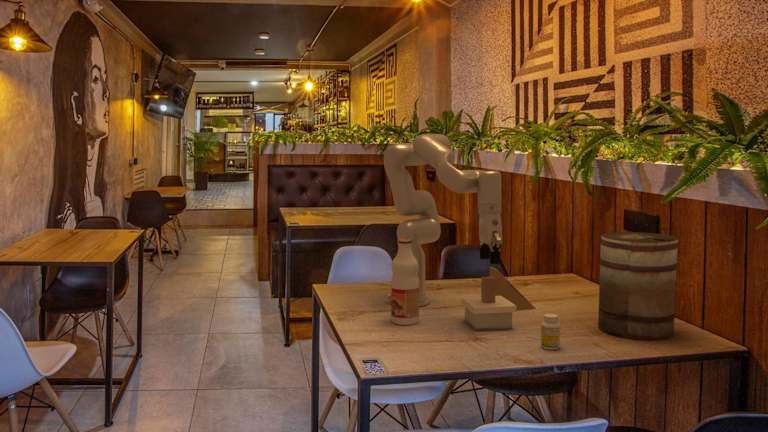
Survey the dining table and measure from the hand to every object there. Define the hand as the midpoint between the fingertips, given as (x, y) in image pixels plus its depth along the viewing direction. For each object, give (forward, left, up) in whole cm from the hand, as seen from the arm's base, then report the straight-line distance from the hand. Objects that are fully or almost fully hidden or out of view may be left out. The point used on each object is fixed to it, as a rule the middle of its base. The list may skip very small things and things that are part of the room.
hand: (489, 261), depth 209 cm
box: (0, 0, -21) cm, 21 cm away
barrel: (+44, -15, -22) cm, 51 cm away
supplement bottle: (+10, -26, -22) cm, 35 cm away
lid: (0, 0, -15) cm, 16 cm away
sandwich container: (+16, +20, -22) cm, 34 cm away
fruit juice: (-26, +9, -22) cm, 35 cm away
